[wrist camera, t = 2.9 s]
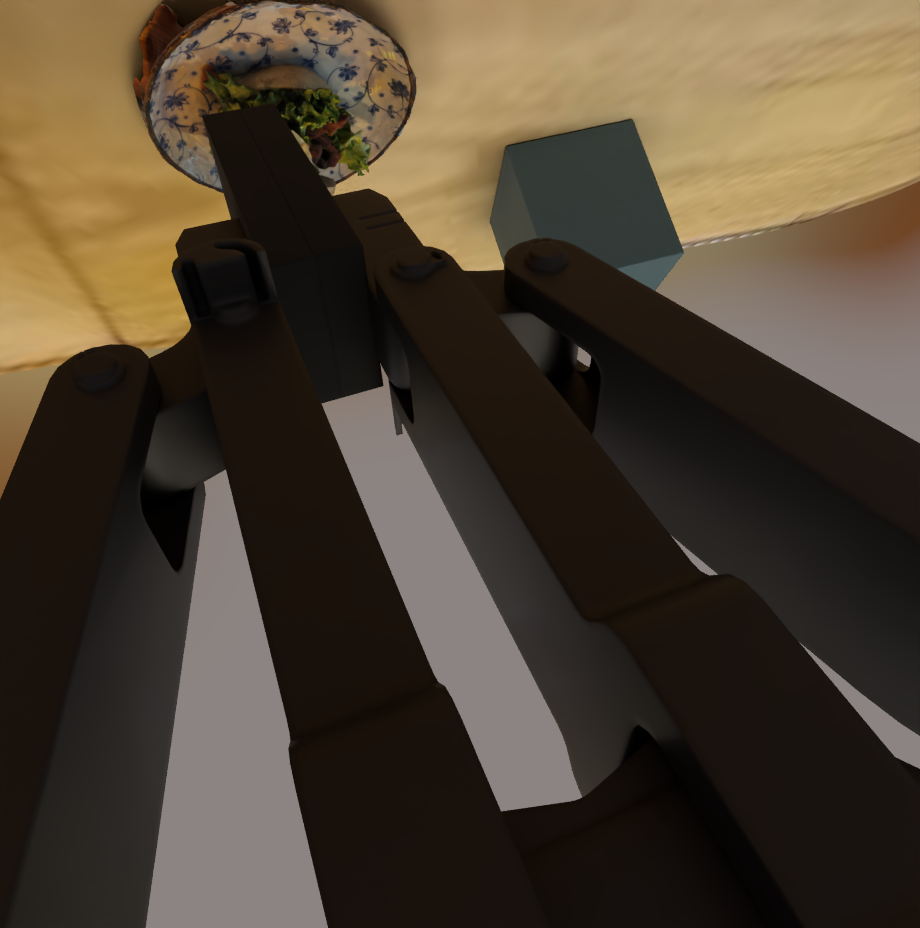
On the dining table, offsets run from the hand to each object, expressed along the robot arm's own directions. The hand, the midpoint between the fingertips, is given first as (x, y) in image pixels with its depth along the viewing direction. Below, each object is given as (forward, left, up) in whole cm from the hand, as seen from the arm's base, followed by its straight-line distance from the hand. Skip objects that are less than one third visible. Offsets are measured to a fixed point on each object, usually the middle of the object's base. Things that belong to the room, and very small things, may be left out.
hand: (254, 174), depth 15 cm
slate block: (+17, -26, -14) cm, 34 cm away
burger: (+1, -14, -14) cm, 20 cm away
